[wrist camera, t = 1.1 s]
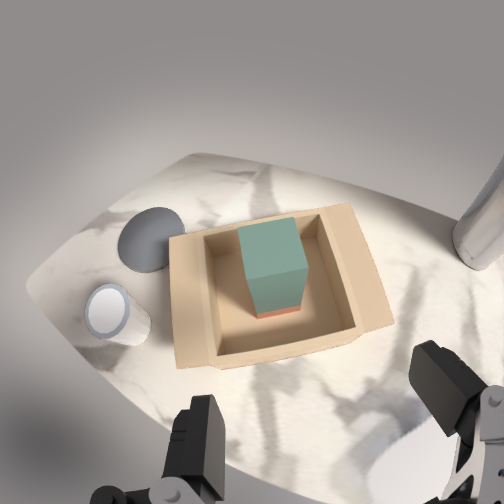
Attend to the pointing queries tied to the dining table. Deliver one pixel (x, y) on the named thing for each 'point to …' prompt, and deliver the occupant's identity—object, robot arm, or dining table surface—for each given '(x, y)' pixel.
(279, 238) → the box
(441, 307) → the dining table surface
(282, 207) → the dining table surface
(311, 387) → the dining table surface
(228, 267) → the carton
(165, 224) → the slate plate
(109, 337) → the white cup
